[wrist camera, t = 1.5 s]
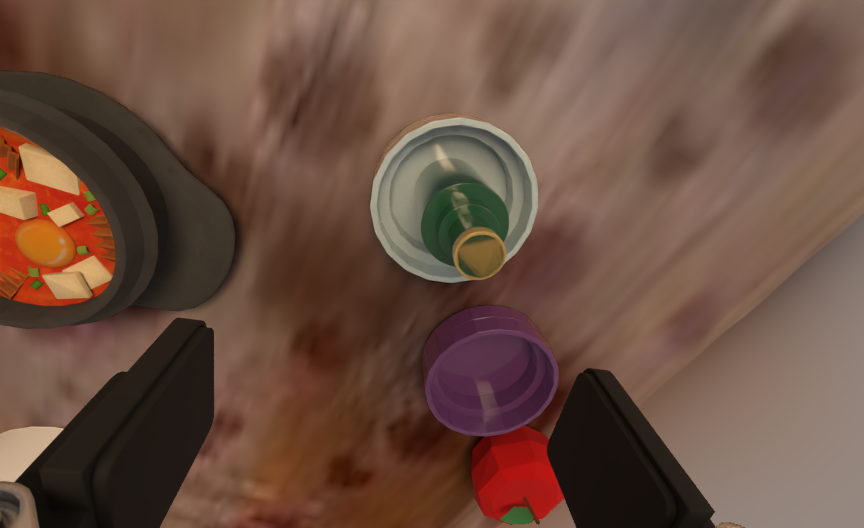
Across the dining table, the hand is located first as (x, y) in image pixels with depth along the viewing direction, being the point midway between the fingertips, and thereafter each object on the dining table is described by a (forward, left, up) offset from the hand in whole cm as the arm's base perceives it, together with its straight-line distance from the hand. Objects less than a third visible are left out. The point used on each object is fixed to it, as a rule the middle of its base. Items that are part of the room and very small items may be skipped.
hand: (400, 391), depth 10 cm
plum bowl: (+1, +22, -27) cm, 35 cm away
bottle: (-3, +4, -26) cm, 27 cm away
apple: (+3, +35, -27) cm, 45 cm away
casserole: (+24, -9, -27) cm, 37 cm away
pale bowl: (-3, +4, -27) cm, 27 cm away
